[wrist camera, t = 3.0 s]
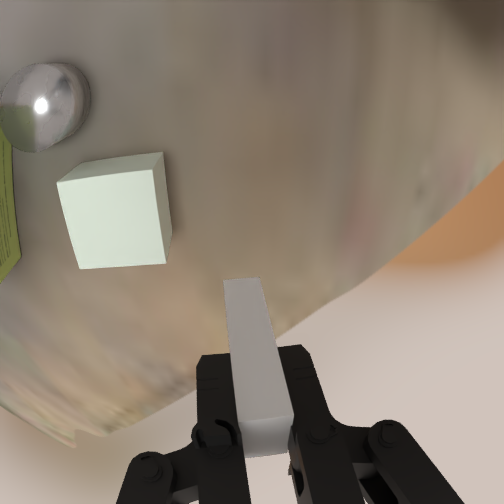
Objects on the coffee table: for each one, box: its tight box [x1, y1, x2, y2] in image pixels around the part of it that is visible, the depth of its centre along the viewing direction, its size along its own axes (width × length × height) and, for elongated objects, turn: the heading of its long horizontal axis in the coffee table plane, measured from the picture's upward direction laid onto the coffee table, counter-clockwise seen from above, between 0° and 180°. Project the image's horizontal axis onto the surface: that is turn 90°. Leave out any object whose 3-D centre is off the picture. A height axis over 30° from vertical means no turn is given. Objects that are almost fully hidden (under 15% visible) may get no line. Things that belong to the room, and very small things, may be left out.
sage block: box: [57, 152, 173, 269], centre depth 23 cm, size 7×7×5 cm
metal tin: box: [0, 63, 91, 152], centre depth 18 cm, size 6×6×4 cm
